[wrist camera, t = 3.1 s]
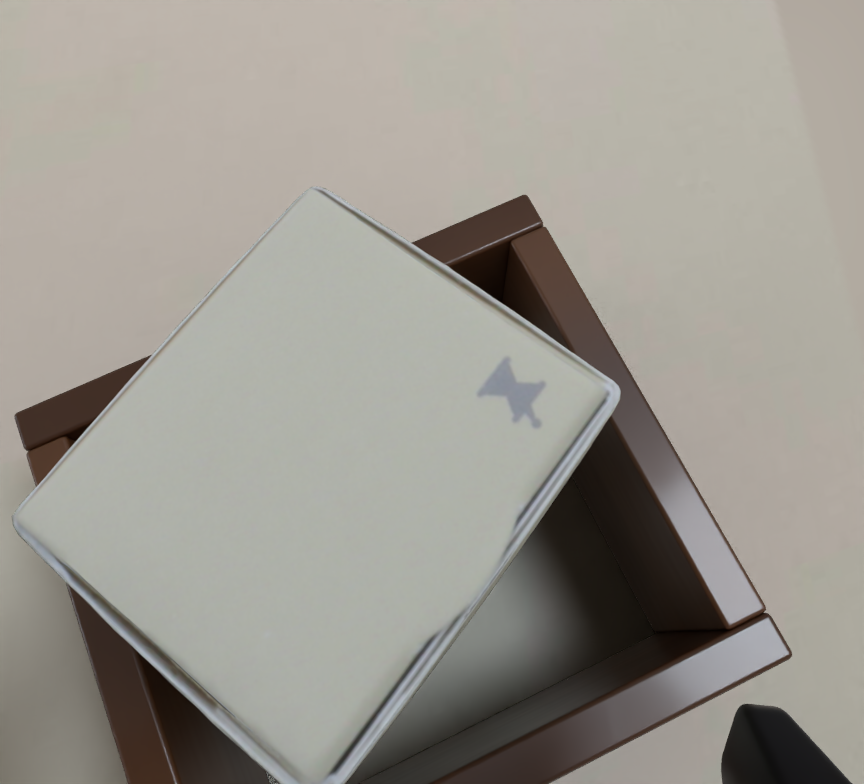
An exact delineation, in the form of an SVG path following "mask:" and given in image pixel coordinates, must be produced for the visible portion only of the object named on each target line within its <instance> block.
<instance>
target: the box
mask: <svg viewBox="0 0 864 784" xmlns="http://www.w3.org/2000/svg"><path fill="white" fill-rule="evenodd" d="M620 394H621V391H620V388H619V386H618V385H617V384H616V383H615V382H614V381H613V380H612V379H610V378H608V377H607V376H605V375H604V374H602V373H601V372H600V371H598V370H597V369H595V368H594V367H592V366H591V365H589V364H588V363H587V362H585V361H584V360H582V359H581V358H580V357H578V356H577V355H575V354H574V353H572V352H571V351H569V350H568V349H566V348H565V347H564V346H562V345H561V344H559V343H558V342H557V341H555V340H554V339H553V338H551V337H550V336H548V335H547V334H546V333H544V332H543V331H542V330H540V329H539V328H537V327H536V326H534V325H533V324H532V323H530V322H529V321H527V320H526V319H524V318H523V317H521V316H520V315H519V314H517V313H516V312H514V311H513V310H511V309H510V308H508V307H507V306H505V305H504V304H502V303H501V302H499V301H498V300H496V299H494V298H493V297H492V296H490V295H489V294H487V293H486V292H484V291H483V290H482V289H480V288H479V287H477V286H476V285H474V284H473V283H471V282H470V281H468V280H467V279H465V278H464V277H462V276H461V275H459V274H458V273H456V272H455V271H453V270H452V269H451V268H449V267H448V266H447V265H445V264H443V263H442V262H440V261H438V260H437V259H435V258H433V257H432V256H430V255H428V254H427V253H425V252H424V251H422V250H421V249H420V248H418V247H417V246H415V245H414V244H412V243H411V242H409V241H408V240H406V239H405V238H403V237H402V236H400V235H399V234H397V233H396V232H394V231H392V230H391V229H389V228H388V227H386V226H384V225H383V224H381V223H379V222H378V221H376V220H375V219H373V218H371V217H370V216H368V215H366V214H365V213H363V212H362V211H360V210H358V209H357V208H355V207H353V206H352V205H350V204H349V203H348V202H346V201H345V200H343V199H342V198H340V197H339V196H337V195H336V194H334V193H332V192H331V191H329V190H327V189H326V188H322V187H311V188H309V189H308V190H306V191H305V192H304V193H303V194H302V195H301V196H300V197H298V198H297V199H296V200H295V201H294V202H293V203H292V204H291V206H290V207H289V208H288V209H287V210H286V211H285V212H284V213H283V214H282V215H281V216H280V217H279V218H278V219H277V220H276V221H275V222H274V223H273V224H272V225H271V226H270V227H269V228H268V230H267V231H266V232H265V233H264V234H263V235H262V236H261V237H260V238H259V239H258V240H257V241H256V243H255V244H254V245H253V246H252V247H251V248H250V249H249V250H248V251H247V252H246V253H245V254H244V255H243V256H242V257H241V258H240V259H239V260H238V261H237V262H236V263H235V264H234V265H233V267H232V268H231V269H230V270H229V271H228V272H227V274H226V275H225V276H224V277H223V278H222V279H221V280H220V281H219V282H218V283H217V284H216V285H215V286H214V287H213V288H212V289H211V290H210V292H209V293H208V294H207V295H206V296H205V297H204V299H203V300H202V301H200V302H199V303H198V305H197V306H196V307H195V308H194V309H193V310H192V311H191V312H190V313H189V314H188V315H187V317H186V318H185V319H184V320H183V321H182V322H181V323H180V324H179V325H178V326H177V327H176V328H175V329H174V331H173V332H172V333H171V334H170V335H169V336H168V337H167V338H166V340H165V341H164V342H163V343H162V344H161V345H160V347H159V348H158V349H157V350H156V351H155V352H154V353H153V355H152V356H151V357H150V358H149V359H148V360H147V361H146V362H145V363H144V365H143V366H142V367H141V368H140V369H139V370H138V371H137V372H136V373H135V374H134V375H133V377H132V378H131V379H130V380H129V381H128V382H127V383H126V385H125V386H124V387H123V388H122V389H121V390H120V392H119V393H118V394H117V395H116V396H115V397H114V399H113V400H112V401H111V402H110V403H109V404H108V406H107V407H106V408H105V409H104V410H103V411H102V412H101V413H100V415H99V416H98V417H97V418H96V419H95V420H94V421H93V422H92V424H91V425H90V426H89V427H88V428H87V429H86V430H85V431H84V433H83V434H82V435H81V436H80V437H79V438H78V439H77V440H76V442H75V443H74V444H73V445H72V446H71V447H70V448H69V450H68V451H67V452H66V453H65V454H64V456H63V457H62V458H61V459H60V460H59V461H58V463H57V464H56V465H55V466H54V467H53V469H52V470H51V471H50V472H49V473H48V474H47V476H46V477H45V478H44V479H43V480H42V481H41V482H40V483H39V485H38V486H37V487H36V488H35V489H34V490H33V491H32V492H31V493H30V494H29V496H28V497H27V498H26V499H25V500H24V501H23V502H22V503H21V504H20V506H19V507H18V508H17V510H16V511H15V513H14V514H13V516H12V521H13V526H14V528H15V530H16V531H17V533H18V535H19V536H20V537H21V538H22V539H23V540H24V541H25V542H26V543H27V544H28V545H29V546H30V547H31V548H32V549H33V550H34V551H35V552H36V553H37V554H38V555H39V556H40V557H41V558H42V559H43V560H44V561H45V562H46V563H47V564H48V565H49V566H50V567H51V568H52V569H53V570H54V571H55V572H56V573H57V574H58V575H59V576H60V577H61V578H62V579H63V580H64V581H65V582H66V583H67V584H69V585H70V586H71V587H72V588H73V589H74V590H75V591H76V592H77V593H78V594H79V595H80V596H81V597H82V598H83V599H84V600H85V601H86V602H87V603H88V604H89V605H90V606H91V607H92V608H93V609H94V610H95V611H96V612H97V613H98V614H99V615H100V616H101V617H102V618H103V619H104V620H105V621H106V622H107V623H108V624H109V625H110V626H111V627H112V628H113V629H114V630H115V631H116V632H117V633H118V634H119V635H120V636H122V637H123V638H124V639H125V640H126V641H127V642H128V643H129V644H130V645H131V646H133V647H134V648H135V649H136V650H137V651H138V652H139V653H140V654H141V655H142V656H143V657H144V658H145V659H146V660H147V661H148V662H149V663H150V664H151V665H152V666H153V667H154V668H155V669H156V670H158V671H159V672H160V673H161V674H162V675H163V676H164V677H165V678H166V679H167V680H168V681H169V682H170V683H171V684H172V685H173V686H174V687H175V688H176V689H177V690H178V691H179V692H180V693H181V694H183V695H184V696H185V697H186V698H187V699H188V700H189V701H190V702H191V703H193V704H194V705H195V706H196V707H197V708H198V709H199V710H200V711H201V712H202V713H203V714H204V715H205V716H206V717H207V718H208V719H209V720H210V721H211V722H212V723H213V724H214V725H215V726H216V727H217V728H219V729H220V730H221V731H222V732H223V733H224V734H225V735H226V736H227V737H229V738H230V739H231V740H232V741H233V742H234V743H235V744H236V745H237V746H239V747H240V748H241V749H242V750H243V751H244V752H245V753H246V754H247V755H249V756H250V757H251V758H252V759H253V760H254V761H255V762H256V763H257V764H258V765H260V766H261V767H262V768H263V769H264V770H265V771H266V772H267V773H268V774H269V775H271V776H272V777H273V778H274V779H275V780H276V781H277V782H278V783H279V784H345V783H346V782H347V781H348V779H349V778H350V777H351V776H352V774H353V773H354V772H355V771H356V769H357V768H358V767H359V765H360V764H361V763H362V762H363V760H364V759H365V758H366V757H367V755H368V754H369V753H370V751H371V750H372V749H373V748H374V746H375V745H376V744H377V742H378V741H379V740H380V739H381V737H382V736H383V735H384V733H385V732H386V731H387V730H388V728H389V727H390V726H391V724H392V723H393V722H394V721H395V719H396V718H397V717H398V715H399V714H400V713H401V711H402V710H403V709H404V708H405V706H406V705H407V704H408V702H409V701H410V700H411V698H412V697H413V696H414V695H415V693H416V692H417V691H418V689H419V688H420V687H421V685H422V684H423V683H424V681H425V680H426V679H427V677H428V676H429V675H430V673H431V672H432V671H433V669H434V668H435V667H436V665H437V664H438V663H439V661H440V660H441V659H442V657H443V656H444V655H445V653H446V652H447V651H448V649H449V648H450V647H451V645H452V644H453V643H454V641H455V640H456V638H457V637H458V636H459V634H460V633H461V632H462V630H463V629H464V628H465V626H466V625H467V624H468V622H469V621H470V620H471V618H472V617H473V616H474V614H475V613H476V612H477V610H478V609H479V607H480V606H481V605H482V603H483V602H484V600H485V599H486V598H487V596H488V595H489V593H490V592H491V591H492V589H493V588H494V586H495V585H496V584H497V582H498V581H499V579H500V578H501V576H502V575H503V574H504V572H505V571H506V569H507V568H508V566H509V565H510V564H511V562H512V561H513V559H514V558H515V556H516V555H517V554H518V552H519V551H520V549H521V548H522V546H523V545H524V543H525V542H526V540H527V539H528V538H529V536H530V535H531V533H532V532H533V530H534V529H535V527H536V526H537V525H538V523H539V522H540V520H541V519H542V517H543V516H544V514H545V513H546V511H547V510H548V509H549V507H550V506H551V504H552V503H553V501H554V500H555V498H556V497H557V495H558V494H559V493H560V491H561V490H562V488H563V487H564V485H565V484H566V482H567V481H568V479H569V478H570V476H571V475H572V473H573V472H574V470H575V469H576V467H577V466H578V465H579V463H580V462H581V460H582V459H583V457H584V456H585V454H586V453H587V451H588V450H589V448H590V447H591V445H592V444H593V442H594V440H595V439H596V437H597V436H598V434H599V433H600V431H601V430H602V428H603V426H604V425H605V423H606V422H607V420H608V419H609V418H610V416H611V415H612V413H613V411H614V410H615V408H616V406H617V404H618V402H619V401H620Z"/></svg>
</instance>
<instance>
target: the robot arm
mask: <svg viewBox="0 0 864 784" xmlns="http://www.w3.org/2000/svg"><path fill="white" fill-rule="evenodd" d="M721 773H722V783H723V784H852V783H851V782H850V781H849V780H848V779H847V778H846V777H845V776H844V774H843V773H842V772H841V771H840V770H839V769H838V768H837V767H836V766H835V765H834V764H833V762H832V761H831V760H830V759H829V758H828V757H827V756H826V755H825V754H824V753H823V752H822V751H821V749H820V748H819V747H818V746H817V745H816V744H815V743H814V742H813V741H812V740H811V739H810V737H809V736H808V735H807V734H806V733H805V732H804V731H803V730H802V729H801V728H800V727H799V725H798V724H797V723H796V722H795V721H794V720H793V719H792V718H791V717H790V716H789V715H788V714H787V713H786V712H785V711H784V710H782V709H780V708H778V707H774V706H764V705H753V704H744V705H742V706H740V707H739V708H738V710H737V712H736V714H735V717H734V720H733V724H732V727H731V730H730V733H729V736H728V739H727V742H726V745H725V749H724V752H723V755H722V763H721Z"/></svg>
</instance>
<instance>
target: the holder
mask: <svg viewBox="0 0 864 784" xmlns="http://www.w3.org/2000/svg"><path fill="white" fill-rule="evenodd" d="M412 244H414V245H415V246H417V247H418V248H420V249H421V250H422V251H424V252H425V253H427V254H428V255H430V256H432V257H433V258H435V259H437V260H438V261H440V262H442V263H443V264H445V265H447V266H448V267H449V268H451V269H452V270H453V271H455V272H456V273H458V274H459V275H461V276H462V277H464V278H465V279H467V280H468V281H470V282H471V283H473V284H474V285H476V286H477V287H479V288H480V289H482V290H483V291H484V292H486V293H487V294H489V295H490V296H492V297H493V298H494V299H496V300H498V301H499V302H501V303H502V304H504V305H505V306H507V307H508V308H510V309H511V310H513V311H514V312H516V313H517V314H519V315H520V316H521V317H523V318H524V319H526V320H527V321H529V322H530V323H532V324H533V325H534V326H536V327H537V328H539V329H540V330H542V331H543V332H544V333H546V334H547V335H548V336H550V337H551V338H553V339H554V340H555V341H557V342H558V343H559V344H561V345H562V346H564V347H565V348H566V349H568V350H569V351H571V352H572V353H574V354H575V355H577V356H578V357H580V358H581V359H582V360H584V361H585V362H587V363H588V364H589V365H591V366H592V367H594V368H595V369H597V370H598V371H600V372H601V373H602V374H604V375H605V376H607V377H608V378H610V379H612V380H613V381H614V382H615V383H616V384H617V385H618V386H619V388H620V391H621V394H620V401H619V402H618V404H617V406H616V408H615V410H614V411H613V413H612V415H611V416H610V418H609V419H608V420H607V422H606V423H605V425H604V426H603V428H602V430H601V431H600V433H599V434H598V436H597V437H596V439H595V440H594V442H593V444H592V445H591V447H590V448H589V450H588V451H587V453H586V454H585V456H584V457H583V459H582V460H581V462H580V463H579V465H578V466H577V467H576V469H575V470H574V472H573V473H572V475H571V476H572V477H573V479H574V481H575V483H576V485H577V487H578V489H579V491H580V493H581V494H582V496H583V498H584V500H585V502H586V504H587V506H588V508H589V509H590V511H591V513H592V515H593V517H594V519H595V521H596V523H597V525H598V526H599V528H600V530H601V532H602V534H603V536H604V538H605V540H606V542H607V543H608V545H609V547H610V549H611V551H612V553H613V555H614V557H615V558H616V560H617V562H618V564H619V566H620V568H621V570H622V572H623V574H624V575H625V577H626V579H627V581H628V583H629V585H630V587H631V589H632V591H633V592H634V594H635V596H636V598H637V600H638V602H639V604H640V606H641V607H642V609H643V611H644V613H645V615H646V617H647V619H648V621H649V623H650V624H651V626H652V628H653V630H654V631H655V632H658V633H656V634H654V635H652V636H650V637H648V638H647V639H645V640H643V641H641V642H639V643H637V644H635V645H633V646H631V647H629V648H627V649H625V650H623V651H621V652H619V653H617V654H615V655H613V656H611V657H609V658H607V659H605V660H603V661H601V662H599V663H597V664H595V665H593V666H591V667H589V668H587V669H585V670H583V671H581V672H579V673H577V674H575V675H573V676H571V677H569V678H567V679H565V680H563V681H561V682H559V683H557V684H555V685H553V686H551V687H549V688H547V689H545V690H543V691H541V692H539V693H537V694H535V695H533V696H531V697H529V698H527V699H525V700H523V701H521V702H519V703H518V704H516V705H514V706H512V707H510V708H508V709H506V710H504V711H502V712H500V713H498V714H496V715H494V716H492V717H490V718H488V719H486V720H484V721H482V722H480V723H478V724H476V725H474V726H472V727H470V728H468V729H466V730H464V731H462V732H460V733H458V734H456V735H454V736H452V737H450V738H448V739H446V740H444V741H442V742H440V743H438V744H436V745H434V746H432V747H430V748H428V749H426V750H424V751H422V752H420V753H418V754H416V755H414V756H412V757H410V758H408V759H406V760H404V761H402V762H400V763H398V764H396V765H394V766H392V767H390V768H389V769H387V770H385V771H383V772H381V773H379V774H377V775H375V776H373V777H371V778H369V779H367V780H365V781H363V782H361V783H359V784H549V783H551V782H553V781H555V780H557V779H559V778H561V777H563V776H565V775H567V774H568V773H570V772H572V771H574V770H576V769H578V768H580V767H582V766H584V765H586V764H588V763H590V762H592V761H594V760H596V759H597V758H599V757H601V756H603V755H605V754H607V753H609V752H611V751H613V750H615V749H617V748H619V747H621V746H623V745H624V744H626V743H628V742H630V741H632V740H634V739H636V738H638V737H640V736H642V735H644V734H646V733H648V732H650V731H652V730H653V729H655V728H657V727H659V726H661V725H663V724H665V723H667V722H669V721H671V720H673V719H675V718H677V717H679V716H680V715H682V714H684V713H686V712H688V711H690V710H692V709H694V708H696V707H698V706H700V705H702V704H704V703H706V702H708V701H709V700H711V699H713V698H715V697H717V696H719V695H721V694H723V693H725V692H727V691H729V690H731V689H733V688H735V687H736V686H738V685H740V684H742V683H744V682H746V681H748V680H750V679H752V678H754V677H756V676H758V675H760V674H762V673H764V672H765V671H767V670H769V669H771V668H773V667H775V666H777V665H779V664H781V663H783V662H785V661H787V660H789V659H790V658H791V656H792V652H791V650H790V648H789V646H788V645H787V643H786V641H785V640H784V638H783V636H782V634H781V633H780V631H779V629H778V627H777V626H776V624H775V622H774V621H773V619H772V617H771V616H770V615H769V614H768V613H764V611H765V610H766V607H765V605H764V603H763V601H762V599H761V598H760V596H759V594H758V593H757V591H756V589H755V587H754V586H753V584H752V582H751V580H750V579H749V577H748V575H747V574H746V572H745V570H744V568H743V567H742V565H741V563H740V561H739V560H738V558H737V556H736V555H735V553H734V551H733V549H732V548H731V546H730V544H729V542H728V541H727V539H726V537H725V536H724V534H723V532H722V530H721V529H720V527H719V525H718V523H717V522H716V520H715V518H714V517H713V515H712V513H711V511H710V510H709V508H708V506H707V504H706V503H705V501H704V499H703V498H702V496H701V494H700V492H699V491H698V489H697V487H696V485H695V484H694V482H693V480H692V479H691V477H690V475H689V473H688V472H687V470H686V468H685V466H684V465H683V463H682V461H681V460H680V458H679V456H678V454H677V453H676V451H675V449H674V447H673V446H672V444H671V442H670V441H669V439H668V437H667V435H666V434H665V432H664V430H663V428H662V427H661V425H660V423H659V422H658V420H657V418H656V416H655V415H654V413H653V411H652V409H651V408H650V406H649V404H648V403H647V401H646V399H645V397H644V396H643V394H642V392H641V390H640V389H639V387H638V385H637V384H636V382H635V380H634V378H633V377H632V375H631V373H630V371H629V370H628V368H627V366H626V365H625V363H624V361H623V359H622V358H621V356H620V354H619V352H618V351H617V349H616V347H615V346H614V344H613V342H612V340H611V339H610V337H609V335H608V333H607V332H606V330H605V328H604V327H603V325H602V323H601V321H600V320H599V318H598V316H597V314H596V313H595V311H594V309H593V308H592V306H591V304H590V302H589V301H588V299H587V297H586V295H585V294H584V292H583V290H582V289H581V287H580V285H579V283H578V282H577V280H576V278H575V276H574V275H573V273H572V271H571V270H570V268H569V266H568V264H567V263H566V261H565V259H564V257H563V256H562V254H561V252H560V251H559V249H558V247H557V245H556V244H555V242H554V240H553V238H552V237H551V235H550V233H549V231H548V230H547V228H546V227H543V222H542V220H541V218H540V216H539V215H538V213H537V211H536V209H535V208H534V206H533V204H532V203H531V201H530V199H529V197H528V196H527V195H522V196H519V197H517V198H515V199H513V200H510V201H508V202H506V203H503V204H501V205H499V206H496V207H494V208H492V209H489V210H487V211H485V212H482V213H480V214H478V215H475V216H473V217H471V218H468V219H466V220H464V221H461V222H459V223H457V224H454V225H452V226H450V227H447V228H445V229H443V230H441V231H438V232H436V233H434V234H431V235H429V236H427V237H424V238H422V239H420V240H417V241H415V242H413V243H412ZM152 355H153V354H152ZM152 355H150V356H148V357H146V358H143V359H141V360H139V361H136V362H134V363H132V364H129V365H127V366H125V367H122V368H120V369H118V370H115V371H113V372H111V373H108V374H106V375H104V376H101V377H99V378H97V379H94V380H92V381H90V382H87V383H85V384H83V385H80V386H78V387H76V388H74V389H71V390H69V391H67V392H64V393H62V394H60V395H57V396H55V397H53V398H50V399H48V400H46V401H43V402H41V403H39V404H36V405H34V406H32V407H29V408H27V409H25V410H22V411H20V412H18V413H16V414H15V421H16V424H17V427H18V430H19V433H20V437H21V440H22V443H23V446H24V449H25V450H26V451H28V453H27V459H28V462H29V466H30V469H31V472H32V475H33V478H34V482H35V485H36V487H37V486H38V485H39V483H40V482H41V481H42V480H43V479H44V478H45V477H46V476H47V474H48V473H49V472H50V471H51V470H52V469H53V467H54V466H55V465H56V464H57V463H58V461H59V460H60V459H61V458H62V457H63V456H64V454H65V453H66V452H67V451H68V450H69V448H70V447H71V446H72V445H73V444H74V443H75V442H76V440H77V439H78V438H79V437H80V436H81V435H82V434H83V433H84V431H85V430H86V429H87V428H88V427H89V426H90V425H91V424H92V422H93V421H94V420H95V419H96V418H97V417H98V416H99V415H100V413H101V412H102V411H103V410H104V409H105V408H106V407H107V406H108V404H109V403H110V402H111V401H112V400H113V399H114V397H115V396H116V395H117V394H118V393H119V392H120V390H121V389H122V388H123V387H124V386H125V385H126V383H127V382H128V381H129V380H130V379H131V378H132V377H133V375H134V374H135V373H136V372H137V371H138V370H139V369H140V368H141V367H142V366H143V365H144V363H145V362H146V361H147V360H148V359H149V358H150V357H151V356H152ZM66 585H67V588H68V591H69V594H70V598H71V601H72V604H73V607H74V610H75V614H76V617H77V620H78V623H79V627H80V630H81V633H82V636H83V639H84V643H85V646H86V649H87V652H88V656H89V659H90V662H91V665H92V668H93V672H94V675H95V678H96V681H97V685H98V688H99V691H100V694H101V697H102V701H103V704H104V707H105V710H106V714H107V717H108V720H109V723H110V726H111V730H112V733H113V736H114V739H115V742H116V746H117V749H118V752H119V755H120V759H121V762H122V765H123V768H124V771H125V775H126V778H127V781H128V784H270V783H269V780H268V777H267V774H266V771H265V770H264V769H263V768H262V767H261V766H260V765H258V764H257V763H256V762H255V761H254V760H253V759H252V758H251V757H250V756H249V755H247V754H246V753H245V752H244V751H243V750H242V749H241V748H240V747H239V746H237V745H236V744H235V743H234V742H233V741H232V740H231V739H230V738H229V737H227V736H226V735H225V734H224V733H223V732H222V731H221V730H220V729H219V728H217V727H216V726H215V725H214V724H213V723H212V722H211V721H210V720H209V719H208V718H207V717H206V716H205V715H204V714H203V713H202V712H201V711H200V710H199V709H198V708H197V707H196V706H195V705H194V704H193V703H191V702H190V701H189V700H188V699H187V698H186V697H185V696H184V695H183V694H181V693H180V692H179V691H178V690H177V689H176V688H175V687H174V686H173V685H172V684H171V683H170V682H169V681H168V680H167V679H166V678H165V677H164V676H163V675H162V674H161V673H160V672H159V671H158V670H156V669H155V668H154V667H153V666H152V665H151V664H150V663H149V662H148V661H147V660H146V659H145V658H144V657H143V656H142V655H141V654H140V653H139V652H138V651H137V650H136V649H135V648H134V647H133V646H131V645H130V644H129V643H128V642H127V641H126V640H125V639H124V638H123V637H122V636H120V635H119V634H118V633H117V632H116V631H115V630H114V629H113V628H112V627H111V626H110V625H109V624H108V623H107V622H106V621H105V620H104V619H103V618H102V617H101V616H100V615H99V614H98V613H97V612H96V611H95V610H94V609H93V608H92V607H91V606H90V605H89V604H88V603H87V602H86V601H85V600H84V599H83V598H82V597H81V596H80V595H79V594H78V593H77V592H76V591H75V590H74V589H73V588H72V587H71V586H70V585H69V584H67V583H66Z"/></svg>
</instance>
